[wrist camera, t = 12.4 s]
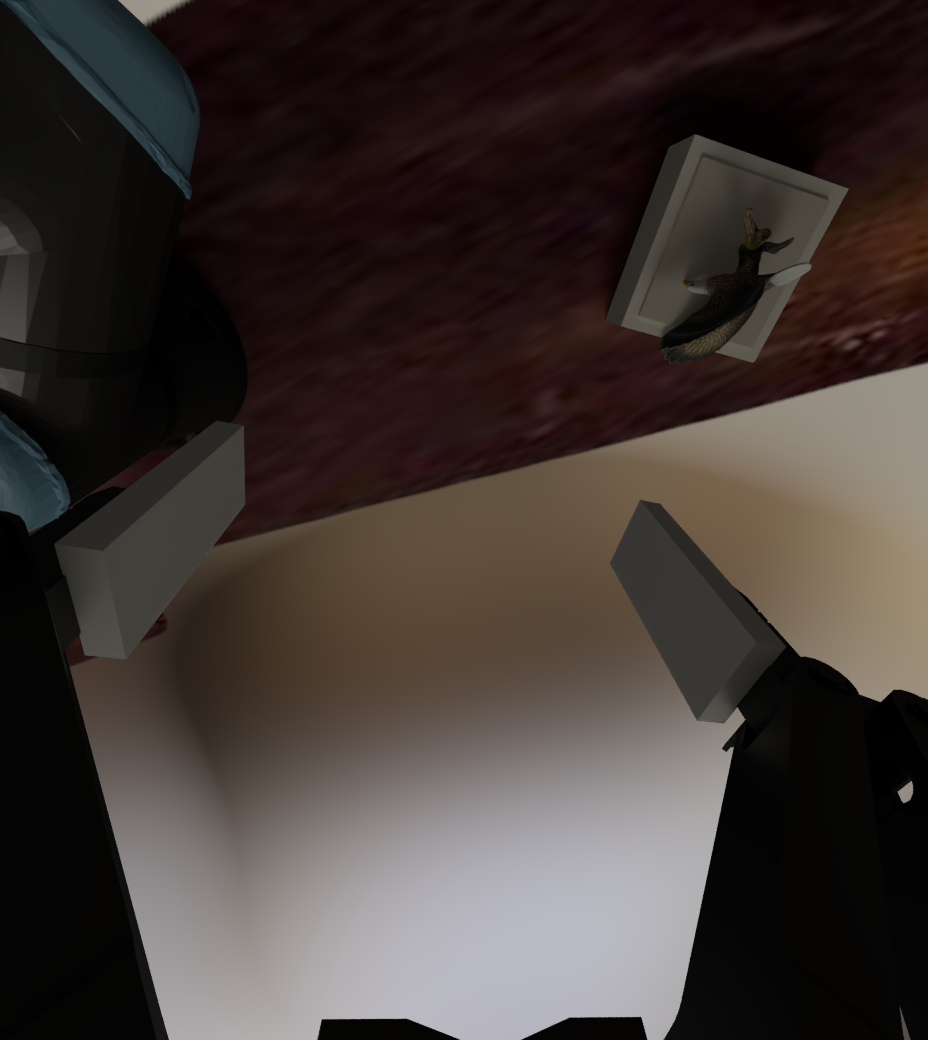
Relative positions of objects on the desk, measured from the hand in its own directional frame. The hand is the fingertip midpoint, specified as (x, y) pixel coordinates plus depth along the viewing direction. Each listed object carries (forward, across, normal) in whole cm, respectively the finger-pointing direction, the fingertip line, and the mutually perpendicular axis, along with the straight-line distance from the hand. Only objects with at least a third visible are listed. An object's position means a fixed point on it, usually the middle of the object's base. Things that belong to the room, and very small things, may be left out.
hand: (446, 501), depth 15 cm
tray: (+28, +20, +11) cm, 36 cm away
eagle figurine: (+24, +19, +8) cm, 32 cm away
